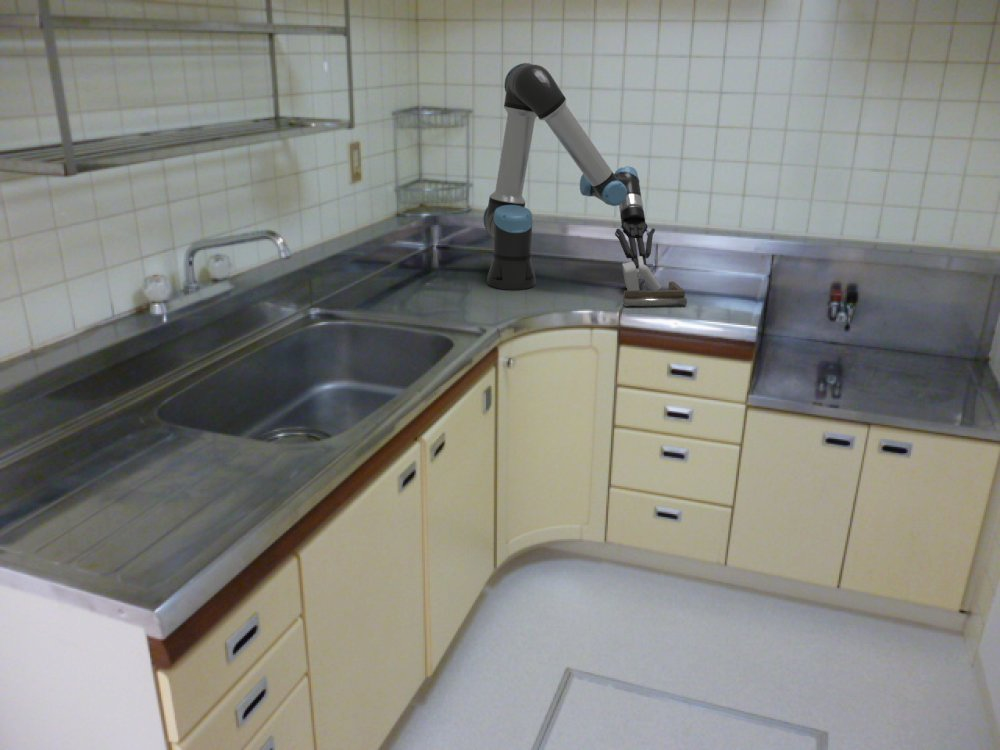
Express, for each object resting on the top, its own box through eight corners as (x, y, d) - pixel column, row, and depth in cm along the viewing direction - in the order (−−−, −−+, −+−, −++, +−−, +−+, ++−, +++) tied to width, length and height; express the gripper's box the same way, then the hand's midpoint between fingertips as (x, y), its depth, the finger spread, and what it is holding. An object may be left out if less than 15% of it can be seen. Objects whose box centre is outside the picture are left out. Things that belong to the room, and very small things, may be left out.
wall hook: (663, 293, 253) (658, 262, 249) (629, 300, 254) (624, 269, 250) (659, 286, 260) (654, 255, 257) (626, 293, 261) (621, 262, 258)
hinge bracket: (626, 307, 241) (627, 294, 239) (615, 294, 253) (616, 282, 251) (686, 307, 243) (687, 293, 241) (672, 294, 255) (673, 281, 253)
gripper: (648, 218, 272) (658, 282, 263) (609, 218, 270) (618, 282, 261) (654, 205, 265) (665, 270, 256) (614, 205, 263) (624, 271, 254)
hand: (641, 276), depth 259 cm, fingers closed
